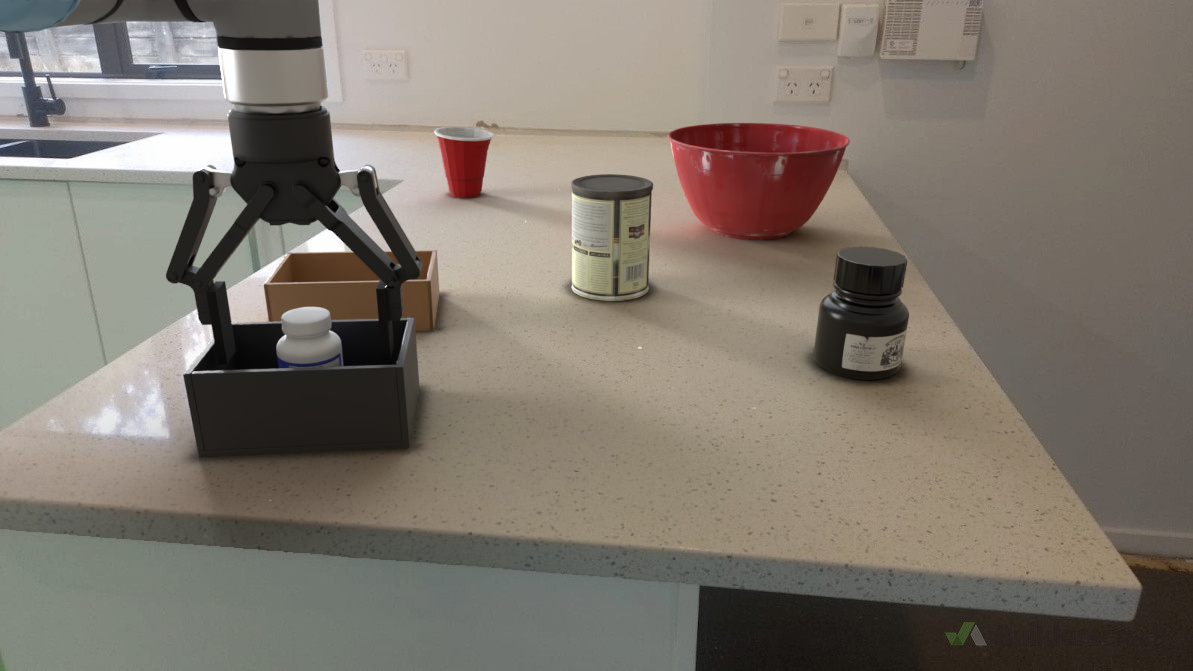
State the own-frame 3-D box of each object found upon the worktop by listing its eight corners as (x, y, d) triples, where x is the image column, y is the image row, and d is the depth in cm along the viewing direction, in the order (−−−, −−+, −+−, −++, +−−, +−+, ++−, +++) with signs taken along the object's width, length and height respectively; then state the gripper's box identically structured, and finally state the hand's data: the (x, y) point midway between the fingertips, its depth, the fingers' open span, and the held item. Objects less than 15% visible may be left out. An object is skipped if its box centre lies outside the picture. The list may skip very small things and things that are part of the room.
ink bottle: (856, 390, 83) (873, 275, 79) (792, 358, 90) (805, 251, 85) (920, 369, 88) (940, 260, 83) (855, 341, 95) (870, 238, 90)
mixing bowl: (692, 258, 124) (699, 152, 118) (644, 210, 149) (648, 122, 143) (869, 250, 129) (883, 148, 123) (793, 205, 155) (802, 120, 149)
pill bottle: (290, 403, 77) (276, 304, 74) (351, 399, 78) (340, 301, 75) (281, 431, 72) (266, 327, 69) (346, 427, 73) (334, 324, 70)
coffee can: (590, 271, 117) (592, 170, 111) (660, 283, 113) (665, 178, 107) (556, 294, 108) (556, 185, 103) (630, 307, 104) (634, 194, 99)
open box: (198, 457, 70) (182, 374, 67) (236, 396, 80) (223, 322, 77) (409, 448, 71) (403, 367, 69) (419, 390, 82) (414, 317, 79)
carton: (270, 335, 94) (263, 284, 92) (293, 298, 105) (287, 252, 103) (433, 330, 96) (430, 280, 94) (439, 295, 107) (436, 249, 105)
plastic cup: (482, 203, 152) (480, 136, 148) (427, 198, 155) (423, 133, 150) (503, 190, 162) (502, 127, 157) (452, 186, 165) (449, 124, 160)
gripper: (443, 100, 70) (454, 335, 78) (127, 98, 67) (173, 342, 75) (438, 113, 63) (451, 369, 71) (86, 111, 60) (141, 378, 68)
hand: (308, 356), depth 73 cm, fingers open, 13 cm apart
